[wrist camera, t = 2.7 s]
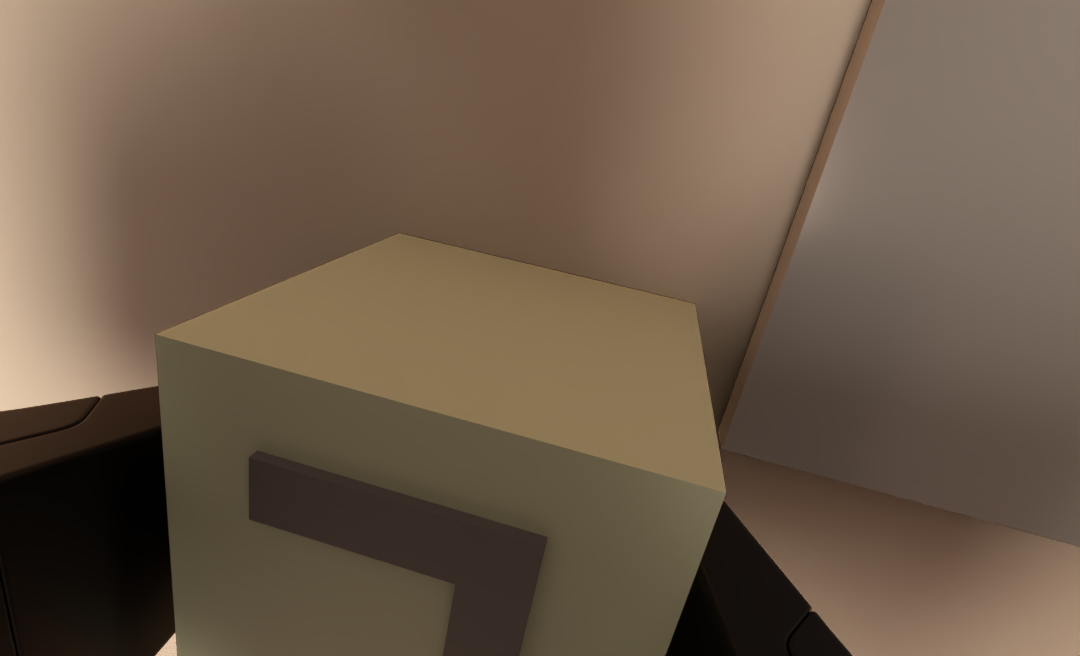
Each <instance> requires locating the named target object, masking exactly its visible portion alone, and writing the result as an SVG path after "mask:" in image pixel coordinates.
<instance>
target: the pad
mask: <svg viewBox="0 0 1080 656" xmlns="http://www.w3.org/2000/svg"><path fill="white" fill-rule="evenodd" d="M718 431H719V437H720V443H721V448H722V449H724V450H727V451H731V452H735V453H738V454H742V455H746V456H749V457H753V458H757V459H760V460H764V461H768V462H771V463H775V464H779V465H782V466H786V467H790V468H793V469H797V470H801V471H804V472H808V473H812V474H815V475H819V476H823V477H826V478H830V479H834V480H837V481H841V482H845V483H848V484H852V485H856V486H859V487H863V488H867V489H870V490H874V491H877V492H881V493H885V494H888V495H892V496H896V497H899V498H903V499H907V500H910V501H914V502H918V503H921V504H925V505H929V506H932V507H936V508H940V509H943V510H947V511H951V512H954V513H958V514H962V515H965V516H969V517H973V518H976V519H980V520H984V521H987V522H991V523H995V524H998V525H1002V526H1006V527H1009V528H1013V529H1017V530H1020V531H1024V532H1028V533H1031V534H1035V535H1039V536H1042V537H1046V538H1050V539H1053V540H1057V541H1061V542H1064V543H1068V544H1072V545H1075V546H1079V547H1080V0H872V2H871V5H870V8H869V10H868V13H867V16H866V19H865V22H864V24H863V27H862V30H861V33H860V36H859V38H858V41H857V44H856V47H855V50H854V52H853V55H852V58H851V61H850V64H849V66H848V69H847V72H846V75H845V78H844V80H843V83H842V86H841V89H840V92H839V94H838V97H837V100H836V103H835V105H834V108H833V111H832V114H831V117H830V119H829V122H828V125H827V128H826V131H825V133H824V136H823V139H822V142H821V145H820V147H819V150H818V153H817V156H816V159H815V161H814V164H813V167H812V170H811V173H810V175H809V178H808V181H807V184H806V187H805V189H804V192H803V195H802V198H801V201H800V203H799V206H798V209H797V212H796V215H795V217H794V220H793V223H792V226H791V228H790V231H789V234H788V237H787V240H786V242H785V245H784V248H783V251H782V254H781V256H780V259H779V262H778V265H777V268H776V270H775V273H774V276H773V279H772V282H771V284H770V287H769V290H768V293H767V296H766V298H765V301H764V304H763V307H762V310H761V312H760V315H759V318H758V321H757V324H756V326H755V329H754V332H753V335H752V338H751V340H750V343H749V346H748V349H747V351H746V354H745V357H744V360H743V363H742V365H741V368H740V371H739V374H738V377H737V379H736V382H735V385H734V388H733V391H732V393H731V396H730V399H729V402H728V405H727V407H726V410H725V413H724V416H723V419H722V421H721V424H720V427H719V430H718Z"/></svg>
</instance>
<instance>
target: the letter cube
mask: <svg viewBox="0 0 1080 656" xmlns="http://www.w3.org/2000/svg"><path fill="white" fill-rule="evenodd" d="M155 342H156V356H157V371H158V385H159V400H160V414H161V429H162V443H163V458H164V472H165V486H166V501H167V515H168V530H169V544H170V559H171V573H172V587H173V602H174V616H175V631H176V645H177V656H665V655H666V653H667V650H668V647H669V645H670V642H671V639H672V636H673V634H674V631H675V628H676V626H677V623H678V620H679V618H680V615H681V612H682V610H683V607H684V604H685V602H686V599H687V596H688V594H689V591H690V588H691V586H692V583H693V580H694V578H695V575H696V572H697V570H698V567H699V564H700V562H701V559H702V556H703V554H704V551H705V548H706V546H707V543H708V540H709V538H710V535H711V532H712V530H713V527H714V524H715V522H716V519H717V516H718V514H719V511H720V508H721V506H722V503H723V500H724V498H725V495H726V487H725V481H724V475H723V469H722V463H721V457H720V451H719V445H718V439H717V433H716V427H715V421H714V415H713V409H712V403H711V397H710V391H709V385H708V379H707V373H706V367H705V361H704V355H703V349H702V343H701V337H700V331H699V325H698V319H697V313H696V307H695V304H694V303H690V302H686V301H682V300H677V299H673V298H669V297H665V296H661V295H656V294H652V293H648V292H644V291H640V290H635V289H631V288H627V287H623V286H619V285H614V284H610V283H606V282H602V281H598V280H594V279H589V278H585V277H581V276H577V275H573V274H568V273H564V272H560V271H556V270H552V269H547V268H543V267H539V266H535V265H531V264H526V263H522V262H518V261H514V260H510V259H505V258H501V257H497V256H493V255H489V254H484V253H480V252H476V251H472V250H468V249H463V248H459V247H455V246H451V245H447V244H442V243H438V242H434V241H430V240H426V239H422V238H417V237H413V236H409V235H405V234H401V233H398V234H396V235H393V236H391V237H388V238H386V239H384V240H381V241H379V242H376V243H374V244H372V245H369V246H367V247H364V248H362V249H359V250H357V251H355V252H352V253H350V254H347V255H345V256H343V257H340V258H338V259H335V260H333V261H330V262H328V263H326V264H323V265H321V266H318V267H316V268H314V269H311V270H309V271H306V272H304V273H302V274H299V275H297V276H294V277H292V278H289V279H287V280H285V281H282V282H280V283H277V284H275V285H273V286H270V287H268V288H265V289H263V290H260V291H258V292H256V293H253V294H251V295H248V296H246V297H244V298H241V299H239V300H236V301H234V302H231V303H229V304H227V305H224V306H222V307H219V308H217V309H215V310H212V311H210V312H207V313H205V314H203V315H200V316H198V317H195V318H193V319H190V320H188V321H186V322H183V323H181V324H178V325H176V326H174V327H171V328H169V329H166V330H164V331H161V332H159V333H157V334H155Z"/></svg>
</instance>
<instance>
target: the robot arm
mask: <svg viewBox="0 0 1080 656" xmlns="http://www.w3.org/2000/svg"><path fill="white" fill-rule="evenodd" d="M175 632H176V631H175V616H174V602H173V587H172V573H171V559H170V544H169V530H168V515H167V501H166V486H165V472H164V458H163V443H162V429H161V414H160V400H159V386H155V387H149V388H143V389H137V390H131V391H126V392H120V393H114V394H108V395H104V396H103V397H102V398H100V397H98V396H95V397H90V398H84V399H78V400H72V401H66V402H60V403H53V404H47V405H41V406H34V407H28V408H22V409H15V410H7V411H0V656H155V655H156V654H157V653H158V652H159V651H160V649H161V648H162V647H163V646H164V645H165V644H166V643H167V641H168V640H169V639H170V638H171V637H172V636H173V634H174V633H175ZM665 656H852V655H851V653H850V652H849V651H848V650H847V649H846V648H845V646H844V645H843V644H842V643H841V642H840V641H839V639H838V638H837V637H836V636H835V635H834V634H833V632H832V631H831V630H830V629H829V628H828V626H827V625H826V624H825V623H824V621H823V620H822V619H821V618H820V617H819V615H818V614H817V613H816V612H812V607H811V606H810V605H809V604H808V602H807V601H806V600H805V599H804V597H803V596H802V595H801V594H800V593H799V591H798V590H797V589H796V588H795V587H794V585H793V584H792V583H791V582H790V581H789V579H788V578H787V577H786V576H785V574H784V573H783V572H782V571H781V570H780V568H779V567H778V566H777V565H776V564H775V562H774V561H773V560H772V559H771V557H770V556H769V555H768V554H767V553H766V551H765V550H764V549H763V548H762V547H761V545H760V544H759V543H758V542H757V540H756V539H755V538H754V537H753V536H752V534H751V533H750V532H749V531H748V530H747V528H746V527H745V526H744V525H743V523H742V522H741V521H740V520H739V519H738V517H737V516H736V515H735V514H734V513H733V511H732V510H731V509H730V508H729V507H728V505H727V504H726V503H725V502H724V500H723V503H722V506H721V508H720V511H719V514H718V516H717V519H716V522H715V524H714V527H713V530H712V532H711V535H710V538H709V540H708V543H707V546H706V548H705V551H704V554H703V556H702V559H701V562H700V564H699V567H698V570H697V572H696V575H695V578H694V580H693V583H692V586H691V588H690V591H689V594H688V596H687V599H686V602H685V604H684V607H683V610H682V612H681V615H680V618H679V620H678V623H677V626H676V628H675V631H674V634H673V636H672V639H671V642H670V645H669V647H668V650H667V653H666V655H665Z"/></svg>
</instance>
